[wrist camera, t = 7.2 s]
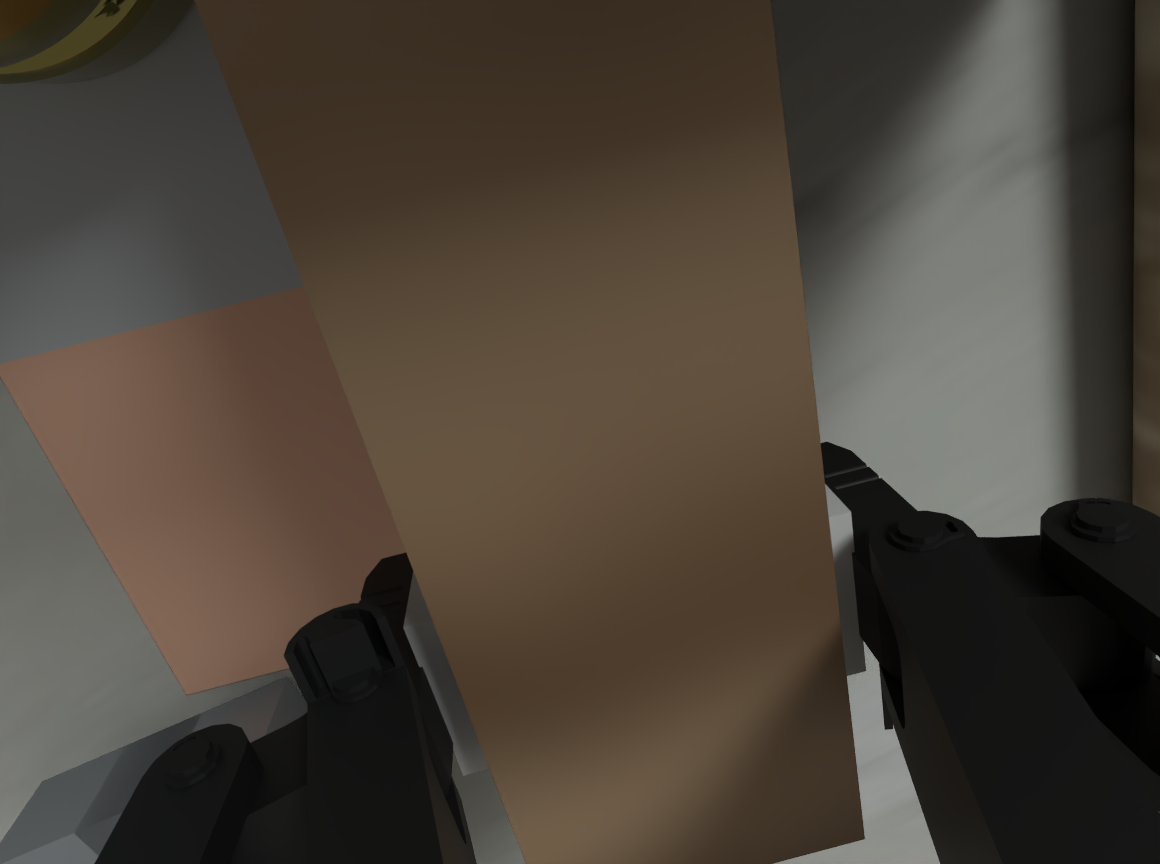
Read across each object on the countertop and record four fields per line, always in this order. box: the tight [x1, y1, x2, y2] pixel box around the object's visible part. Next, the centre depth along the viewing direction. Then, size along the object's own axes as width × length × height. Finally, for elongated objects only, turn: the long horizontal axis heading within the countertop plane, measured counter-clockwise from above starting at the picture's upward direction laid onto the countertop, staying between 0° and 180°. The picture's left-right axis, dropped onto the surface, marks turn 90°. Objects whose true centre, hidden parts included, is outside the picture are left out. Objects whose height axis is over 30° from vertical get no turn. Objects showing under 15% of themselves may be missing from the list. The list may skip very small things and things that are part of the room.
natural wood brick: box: [194, 0, 865, 864], centre depth 9 cm, size 24×12×8 cm, turn 13°
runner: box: [0, 1, 406, 695], centre depth 15 cm, size 28×10×1 cm, turn 13°
